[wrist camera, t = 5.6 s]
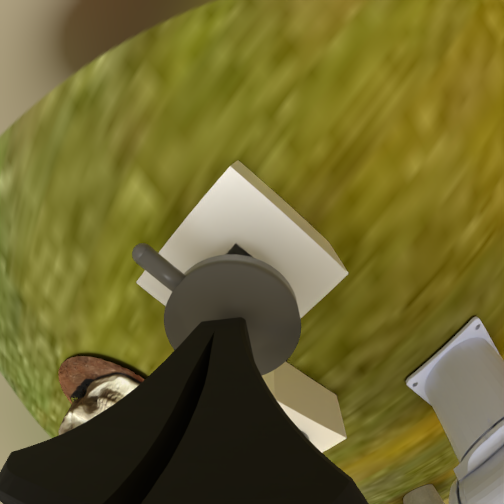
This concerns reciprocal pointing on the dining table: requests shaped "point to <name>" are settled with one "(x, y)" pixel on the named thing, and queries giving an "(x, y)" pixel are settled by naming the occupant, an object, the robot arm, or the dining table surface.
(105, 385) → the skull
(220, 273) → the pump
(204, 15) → the dining table surface
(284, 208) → the square base with knob
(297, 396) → the off-white square plinth
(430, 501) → the house plant
